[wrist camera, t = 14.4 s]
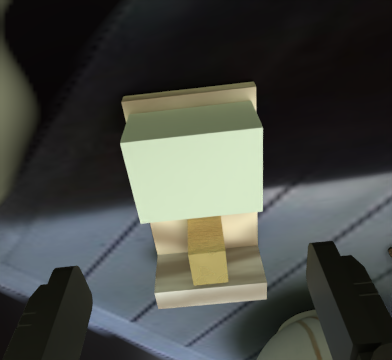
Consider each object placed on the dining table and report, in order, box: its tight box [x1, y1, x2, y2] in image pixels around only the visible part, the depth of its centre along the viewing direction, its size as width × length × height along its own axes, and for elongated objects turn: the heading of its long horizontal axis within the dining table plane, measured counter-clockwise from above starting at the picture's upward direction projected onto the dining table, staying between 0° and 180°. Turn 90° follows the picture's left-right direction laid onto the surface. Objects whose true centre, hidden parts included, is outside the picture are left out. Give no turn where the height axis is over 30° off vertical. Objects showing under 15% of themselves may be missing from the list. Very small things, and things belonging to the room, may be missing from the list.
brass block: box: [188, 216, 228, 286], centre depth 41 cm, size 5×4×6 cm
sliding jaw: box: [120, 101, 263, 224], centre depth 34 cm, size 9×12×6 cm
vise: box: [121, 82, 267, 309], centre depth 38 cm, size 24×13×8 cm, turn 6°
